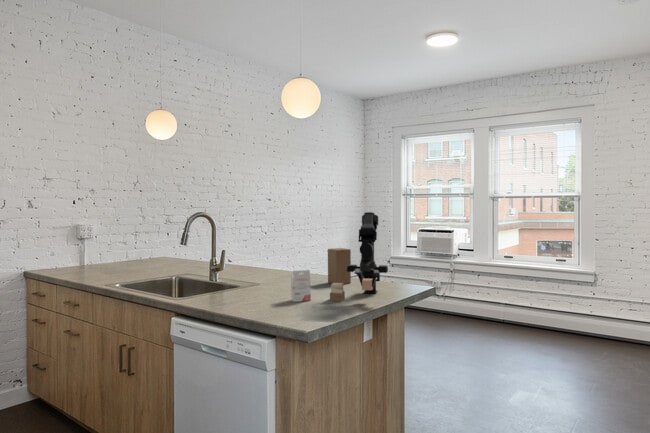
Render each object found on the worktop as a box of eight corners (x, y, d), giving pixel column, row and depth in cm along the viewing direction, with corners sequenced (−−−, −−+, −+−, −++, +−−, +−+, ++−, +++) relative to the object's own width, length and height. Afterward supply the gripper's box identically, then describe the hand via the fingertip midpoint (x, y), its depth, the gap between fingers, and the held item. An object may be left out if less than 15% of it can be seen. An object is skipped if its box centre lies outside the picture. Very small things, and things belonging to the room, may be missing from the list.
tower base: (332, 298, 227) (332, 290, 226) (344, 299, 225) (344, 291, 225) (329, 301, 221) (329, 293, 221) (342, 301, 219) (342, 293, 219)
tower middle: (333, 290, 226) (333, 282, 226) (343, 291, 225) (343, 283, 225) (331, 292, 221) (331, 284, 221) (341, 293, 220) (341, 284, 220)
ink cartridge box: (308, 298, 227) (308, 268, 226) (310, 300, 222) (310, 270, 221) (291, 299, 224) (290, 269, 224) (293, 301, 219) (292, 270, 219)
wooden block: (351, 283, 270) (350, 249, 269) (336, 285, 265) (336, 250, 264) (341, 281, 278) (341, 247, 278) (327, 282, 273) (327, 248, 273)
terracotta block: (363, 288, 220) (363, 278, 220) (372, 288, 219) (372, 279, 219) (362, 289, 215) (362, 280, 215) (371, 290, 214) (371, 280, 214)
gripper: (344, 255, 211) (344, 289, 211) (385, 255, 207) (385, 290, 207) (348, 252, 222) (349, 285, 222) (388, 253, 218) (388, 286, 218)
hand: (367, 287), depth 217 cm, fingers closed on terracotta block, 4 cm apart
